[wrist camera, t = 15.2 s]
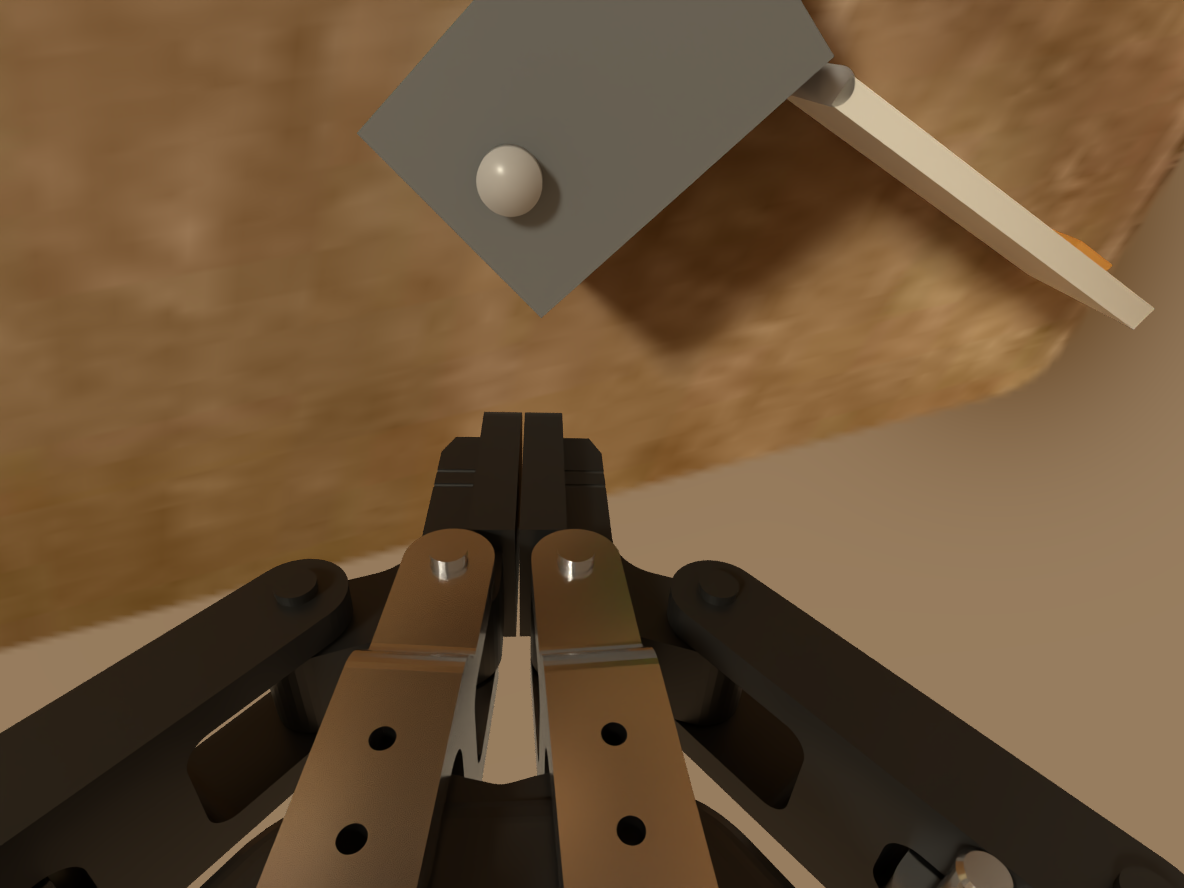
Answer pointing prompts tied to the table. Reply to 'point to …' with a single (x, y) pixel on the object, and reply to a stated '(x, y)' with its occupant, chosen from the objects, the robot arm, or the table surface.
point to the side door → (964, 193)
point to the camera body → (583, 120)
